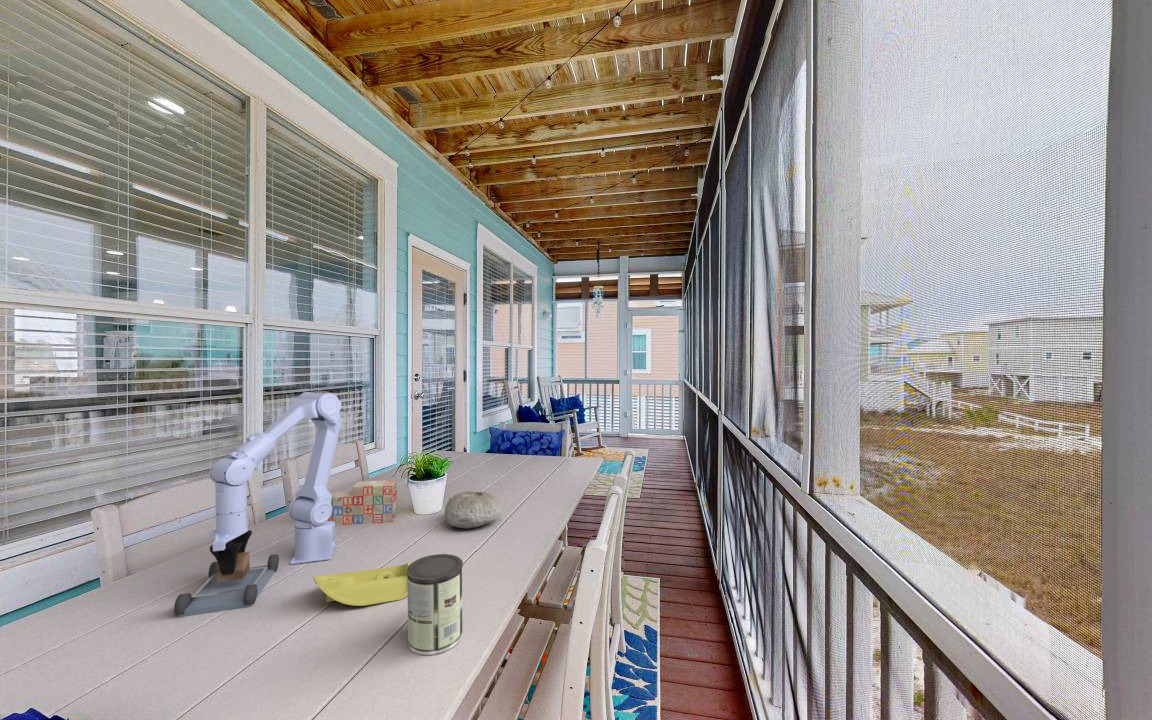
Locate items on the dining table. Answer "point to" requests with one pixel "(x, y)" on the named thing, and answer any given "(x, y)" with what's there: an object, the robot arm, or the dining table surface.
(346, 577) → the plastic component
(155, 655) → the dining table surface
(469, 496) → the grey rounded lump
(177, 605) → the chassis
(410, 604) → the coffee can
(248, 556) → the engine block
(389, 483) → the stack of blocks
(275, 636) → the dining table surface
